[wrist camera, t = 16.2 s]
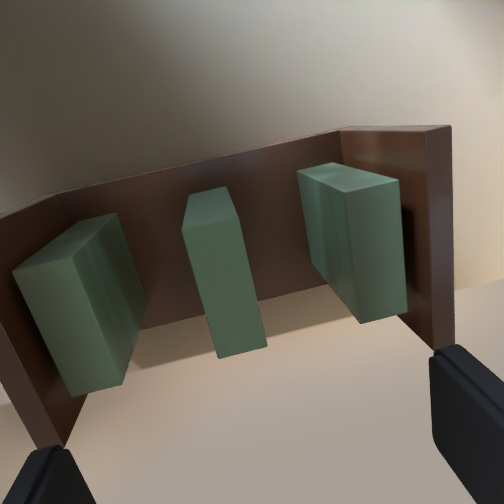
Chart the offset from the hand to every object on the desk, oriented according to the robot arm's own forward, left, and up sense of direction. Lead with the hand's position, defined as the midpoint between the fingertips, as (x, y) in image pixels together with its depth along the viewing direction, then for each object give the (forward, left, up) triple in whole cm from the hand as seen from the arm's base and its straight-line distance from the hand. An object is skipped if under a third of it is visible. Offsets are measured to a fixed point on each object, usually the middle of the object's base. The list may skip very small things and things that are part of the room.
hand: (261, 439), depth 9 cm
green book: (0, 0, -18) cm, 18 cm away
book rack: (0, 0, -19) cm, 19 cm away
